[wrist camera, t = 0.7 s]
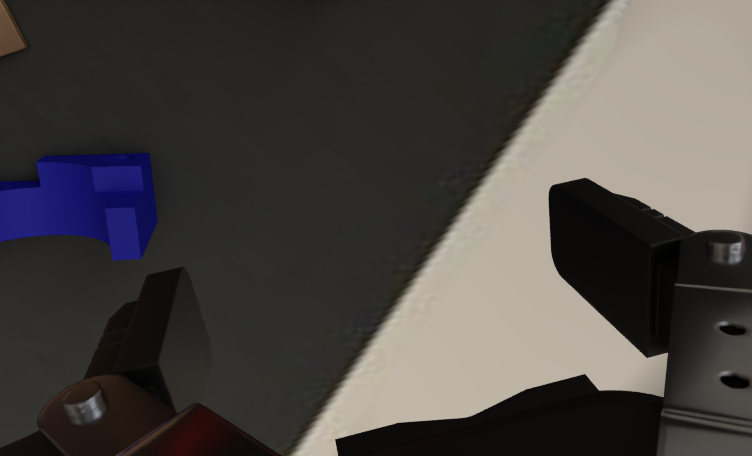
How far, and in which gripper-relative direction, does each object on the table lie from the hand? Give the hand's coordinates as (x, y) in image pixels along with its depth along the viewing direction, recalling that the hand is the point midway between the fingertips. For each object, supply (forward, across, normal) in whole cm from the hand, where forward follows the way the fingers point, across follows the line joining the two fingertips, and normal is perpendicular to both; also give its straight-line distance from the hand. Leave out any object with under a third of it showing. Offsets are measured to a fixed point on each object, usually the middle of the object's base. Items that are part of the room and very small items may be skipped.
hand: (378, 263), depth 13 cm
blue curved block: (+27, +16, +4) cm, 32 cm away
